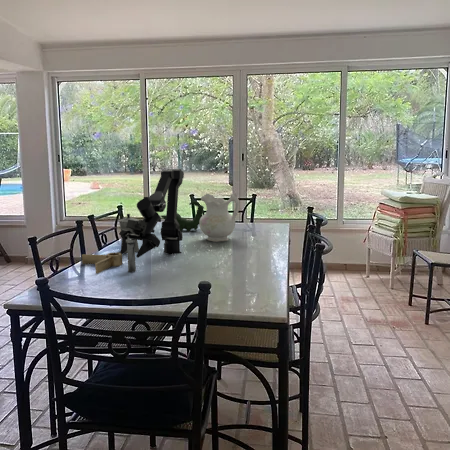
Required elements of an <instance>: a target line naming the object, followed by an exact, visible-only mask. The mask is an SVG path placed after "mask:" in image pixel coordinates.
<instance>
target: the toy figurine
mask: <svg viewBox="0 0 450 450" xmlns="http://www.w3.org/2000/svg"><path fill="white" fill-rule="evenodd" d="M191 205H194V206H195V207H197V209H196V214H195V215H194V216H195V217H194V218H193V219H192V220H191V219H187V218H185V217H182V216H181V214H180V213H178V212H177V217H176V219H177V221H178V223H179V228H180V230H181V232H182V231H183V230H185V231H187V232H191V230H193V231H197V230H198V228H199V226H200V225H199V221H200V218H201V217H202V216H203V215H204V209H205V207H204V206H203V205H202V204H200V203H199V201H195V200H192V201H191V202H189V206H191ZM160 216H161V219H163V220H165V219H166V215H165V214H164V215H160Z"/></svg>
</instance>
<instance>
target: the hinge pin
mask: <svg viewBox="0 0 450 450" xmlns="http://www.w3.org/2000/svg"><path fill="white" fill-rule="evenodd" d="M135 242H136V239H126V243H127V253H126V254H127V272H128V273H135V271H136V272H137V269H136V267H137V265H136V252H135Z"/></svg>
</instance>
